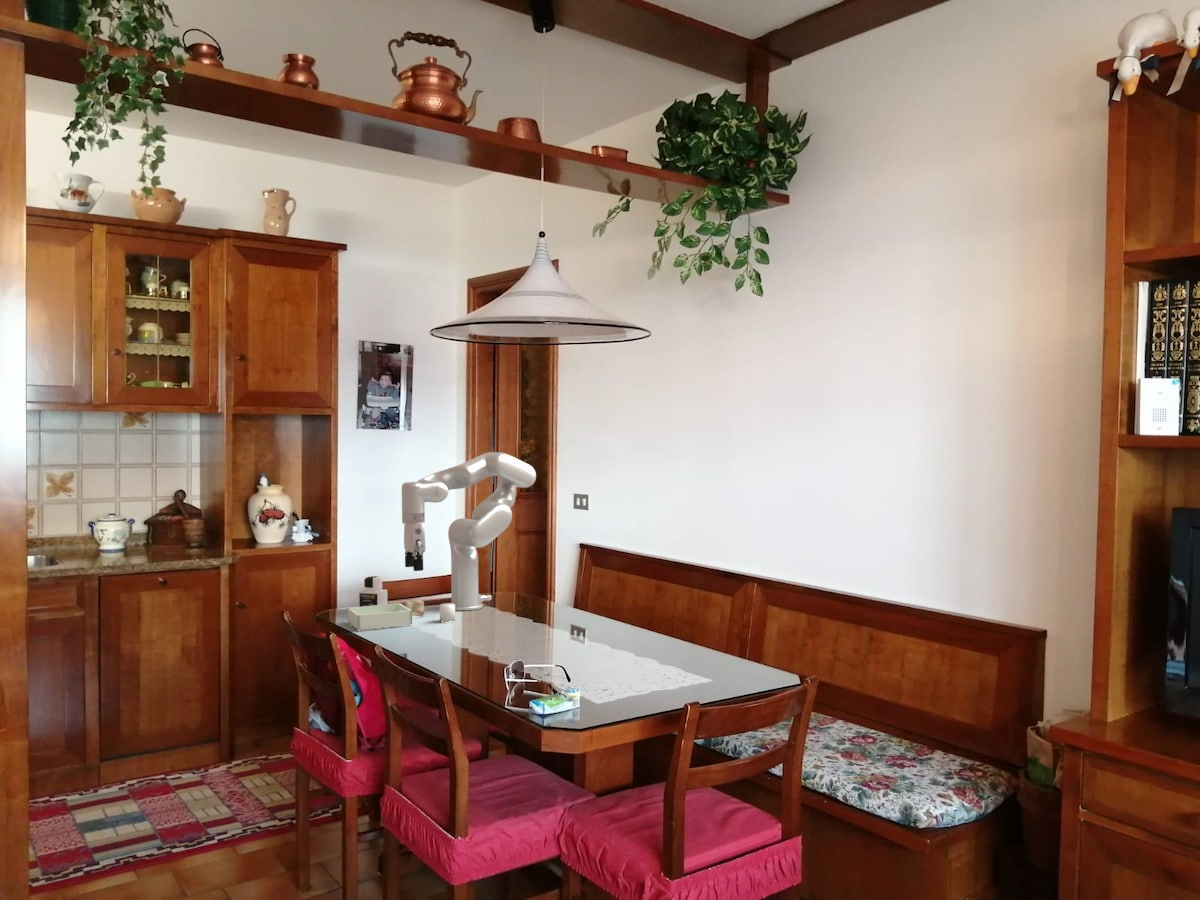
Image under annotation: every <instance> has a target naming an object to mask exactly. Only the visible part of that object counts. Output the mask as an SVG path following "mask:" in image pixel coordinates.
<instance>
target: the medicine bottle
mask: <svg viewBox="0 0 1200 900" xmlns="http://www.w3.org/2000/svg"><path fill="white" fill-rule="evenodd" d="M363 584H364V590H363V591H359V595H358V596H359V598H358V599H359V600H358V601H359V603H358V604H359V607H363V606H373V605H384V604H389V603H388V590H387V589H385V588H384V589H383V578H382V577H381V576H373V575H371V576H367V577H365V578H364V583H363Z"/></svg>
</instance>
